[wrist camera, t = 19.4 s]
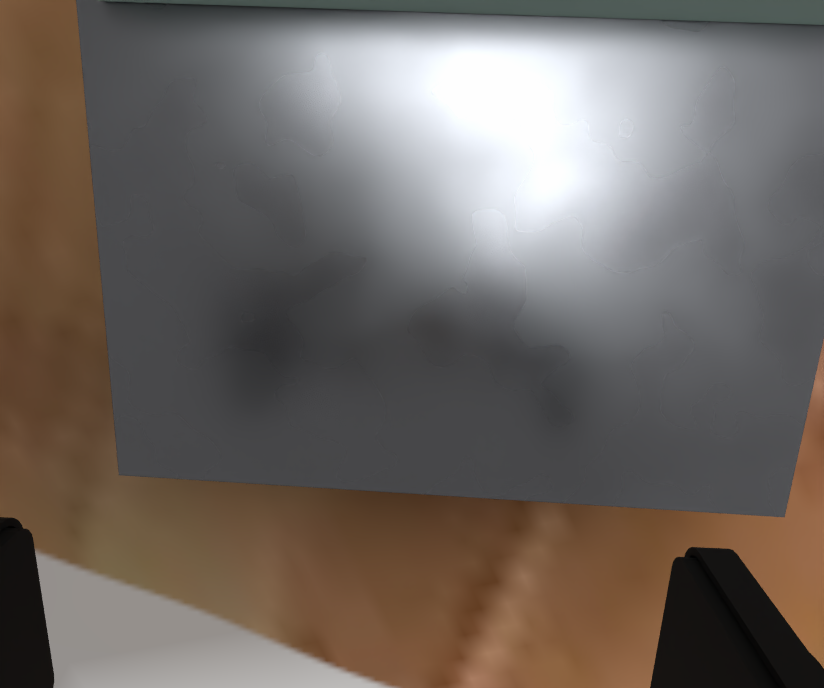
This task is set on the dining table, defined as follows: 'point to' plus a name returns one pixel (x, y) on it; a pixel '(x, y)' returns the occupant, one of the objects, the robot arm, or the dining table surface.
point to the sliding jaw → (572, 8)
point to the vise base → (459, 250)
